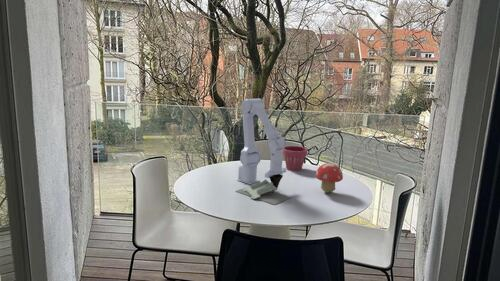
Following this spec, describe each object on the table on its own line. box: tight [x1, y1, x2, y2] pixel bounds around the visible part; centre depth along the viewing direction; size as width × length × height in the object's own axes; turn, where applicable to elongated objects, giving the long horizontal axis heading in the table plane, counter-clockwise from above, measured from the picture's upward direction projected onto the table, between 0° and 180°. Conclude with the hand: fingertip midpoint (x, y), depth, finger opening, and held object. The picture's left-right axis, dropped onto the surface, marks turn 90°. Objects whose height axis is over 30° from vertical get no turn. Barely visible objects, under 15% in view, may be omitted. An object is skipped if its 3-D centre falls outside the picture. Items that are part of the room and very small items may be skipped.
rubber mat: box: [235, 185, 292, 206], centre depth 180 cm, size 24×13×1 cm, turn 49°
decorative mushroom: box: [315, 162, 344, 194], centre depth 185 cm, size 13×13×15 cm
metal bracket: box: [242, 179, 277, 200], centre depth 181 cm, size 14×6×15 cm
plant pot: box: [283, 145, 308, 172], centre depth 225 cm, size 14×14×13 cm
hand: (274, 188), depth 185 cm, fingers closed
